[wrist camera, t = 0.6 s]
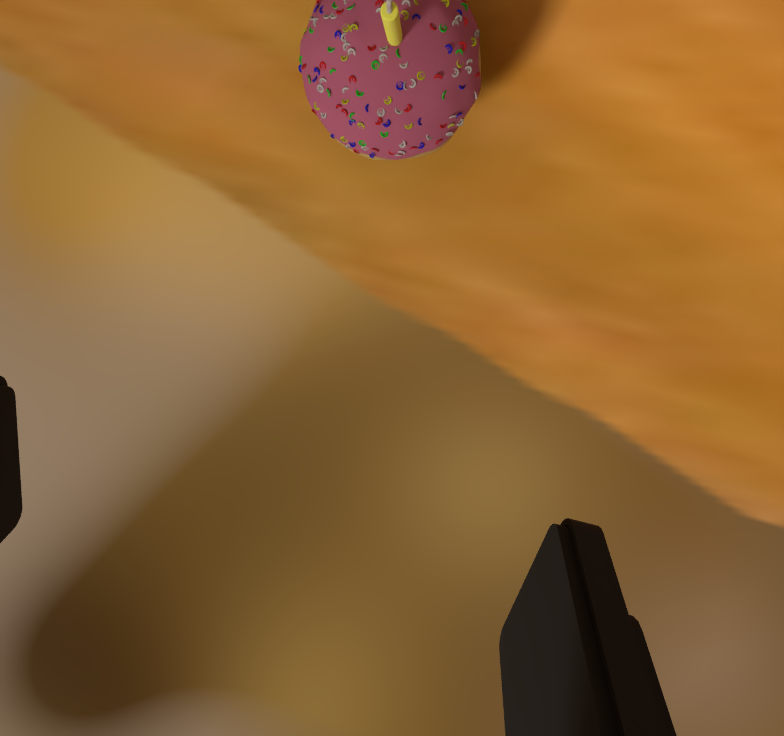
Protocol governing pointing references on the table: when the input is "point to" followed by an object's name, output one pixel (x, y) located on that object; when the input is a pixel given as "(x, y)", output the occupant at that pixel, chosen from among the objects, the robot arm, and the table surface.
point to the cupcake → (391, 73)
